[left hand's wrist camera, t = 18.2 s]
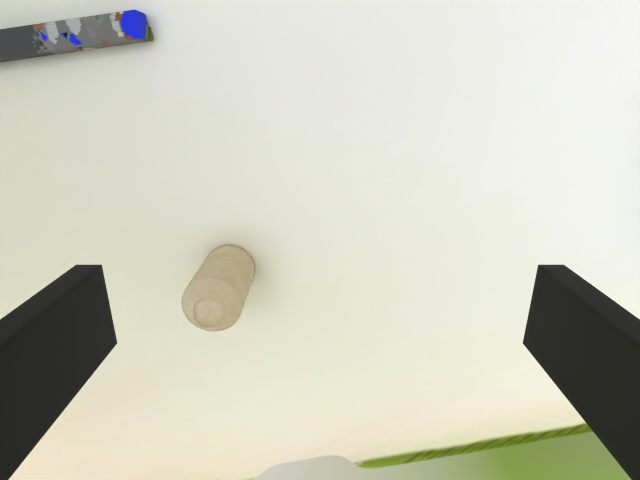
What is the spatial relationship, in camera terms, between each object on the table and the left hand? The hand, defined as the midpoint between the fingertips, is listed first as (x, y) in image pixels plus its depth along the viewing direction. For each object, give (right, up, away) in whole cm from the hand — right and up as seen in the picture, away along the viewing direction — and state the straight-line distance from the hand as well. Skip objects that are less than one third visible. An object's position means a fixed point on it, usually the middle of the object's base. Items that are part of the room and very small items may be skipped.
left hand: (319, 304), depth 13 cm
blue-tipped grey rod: (-25, +20, +26) cm, 41 cm away
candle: (-10, -1, +34) cm, 35 cm away
